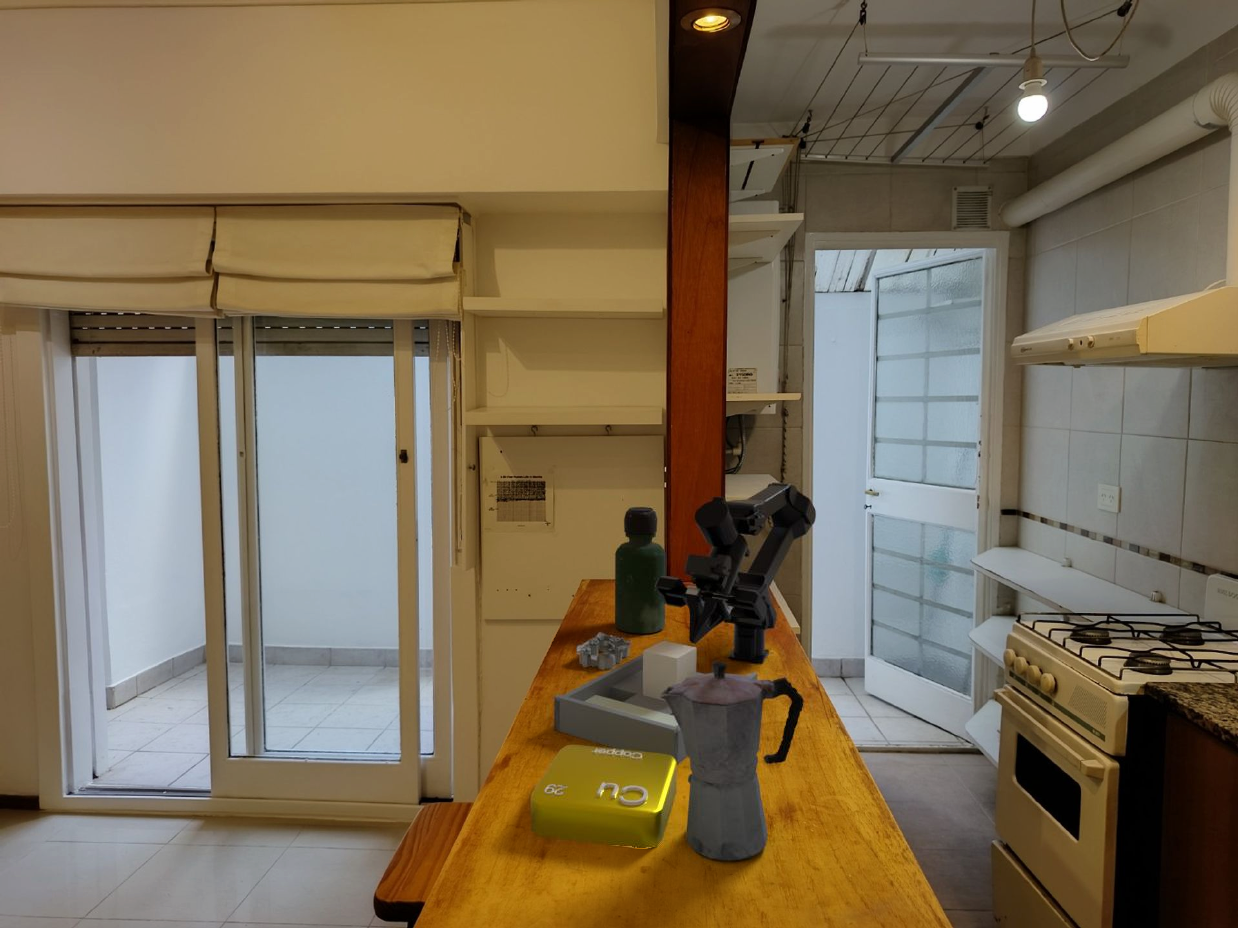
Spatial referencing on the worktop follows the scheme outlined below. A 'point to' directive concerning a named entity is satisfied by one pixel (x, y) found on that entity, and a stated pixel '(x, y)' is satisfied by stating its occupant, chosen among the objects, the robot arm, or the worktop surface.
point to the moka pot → (727, 757)
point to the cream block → (666, 667)
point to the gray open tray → (621, 713)
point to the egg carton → (603, 651)
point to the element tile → (605, 796)
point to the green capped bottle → (639, 575)
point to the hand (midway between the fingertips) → (692, 642)
